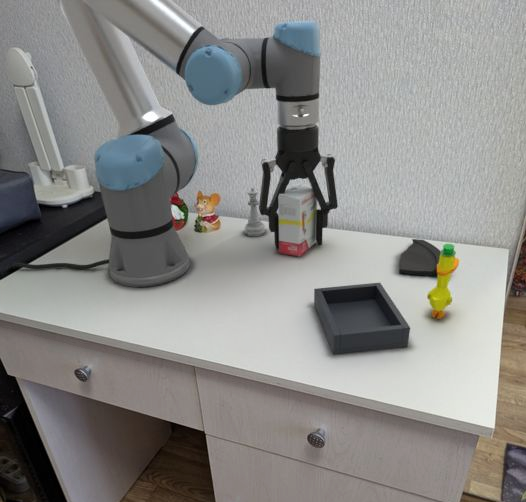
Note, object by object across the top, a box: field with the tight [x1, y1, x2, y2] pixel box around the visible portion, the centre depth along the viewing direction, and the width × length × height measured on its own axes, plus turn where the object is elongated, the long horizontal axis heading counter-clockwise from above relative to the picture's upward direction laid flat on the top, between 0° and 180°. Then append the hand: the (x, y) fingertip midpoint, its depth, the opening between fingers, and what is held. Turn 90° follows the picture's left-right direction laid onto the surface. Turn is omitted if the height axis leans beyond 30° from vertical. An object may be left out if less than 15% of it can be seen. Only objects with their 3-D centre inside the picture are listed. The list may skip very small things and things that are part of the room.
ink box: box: [277, 183, 318, 258], centre depth 98 cm, size 9×5×12 cm, turn 150°
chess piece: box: [244, 187, 266, 237], centre depth 106 cm, size 4×4×10 cm
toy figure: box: [426, 243, 460, 320], centre depth 75 cm, size 7×4×12 cm, turn 142°
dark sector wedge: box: [398, 238, 441, 277], centre depth 94 cm, size 8×14×2 cm, turn 163°
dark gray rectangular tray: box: [313, 282, 411, 355], centre depth 76 cm, size 11×14×3 cm
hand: (298, 244), depth 101 cm, fingers closed on ink box, 8 cm apart
